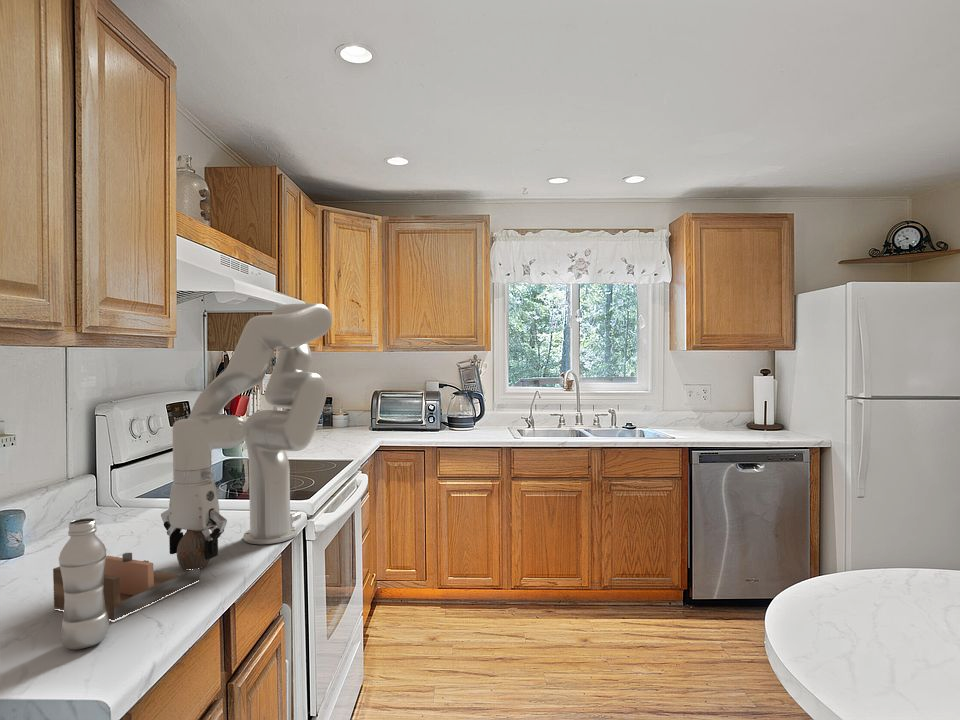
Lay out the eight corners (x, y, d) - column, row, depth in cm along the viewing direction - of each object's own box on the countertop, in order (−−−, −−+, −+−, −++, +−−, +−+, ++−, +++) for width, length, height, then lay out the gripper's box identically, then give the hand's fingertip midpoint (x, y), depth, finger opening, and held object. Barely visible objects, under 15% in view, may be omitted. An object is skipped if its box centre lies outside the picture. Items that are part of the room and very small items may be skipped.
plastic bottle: (118, 633, 100) (115, 514, 100) (93, 654, 94) (90, 527, 93) (78, 634, 100) (75, 515, 100) (50, 655, 93) (47, 528, 93)
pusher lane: (144, 572, 127) (144, 536, 127) (200, 581, 122) (199, 544, 122) (54, 610, 109) (53, 568, 109) (114, 622, 104) (113, 579, 104)
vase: (173, 574, 126) (172, 533, 126) (180, 563, 133) (179, 523, 132) (209, 571, 128) (208, 530, 128) (214, 559, 135) (213, 521, 134)
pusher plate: (109, 587, 118) (108, 549, 118) (154, 595, 114) (154, 556, 114) (102, 590, 116) (101, 551, 116) (147, 598, 112) (146, 559, 112)
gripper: (237, 475, 130) (238, 554, 131) (176, 470, 136) (177, 545, 137) (210, 482, 123) (211, 565, 124) (147, 476, 129) (148, 556, 130)
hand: (193, 554), depth 130 cm, fingers open, 9 cm apart
